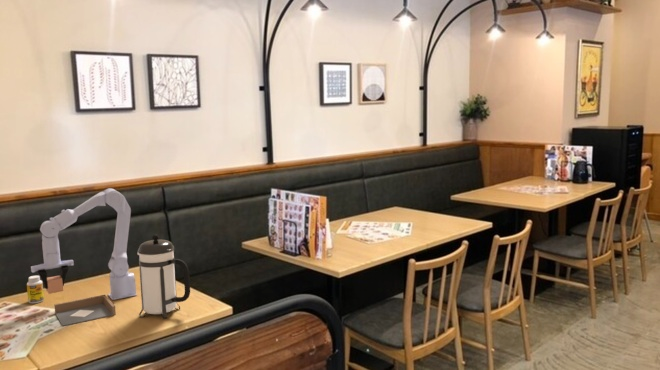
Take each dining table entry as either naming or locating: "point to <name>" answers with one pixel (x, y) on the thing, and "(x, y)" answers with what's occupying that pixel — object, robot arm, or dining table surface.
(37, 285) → the supplement bottle
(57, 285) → the cube
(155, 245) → the coffee press
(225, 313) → the dining table surface
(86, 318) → the tray
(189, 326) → the dining table surface
